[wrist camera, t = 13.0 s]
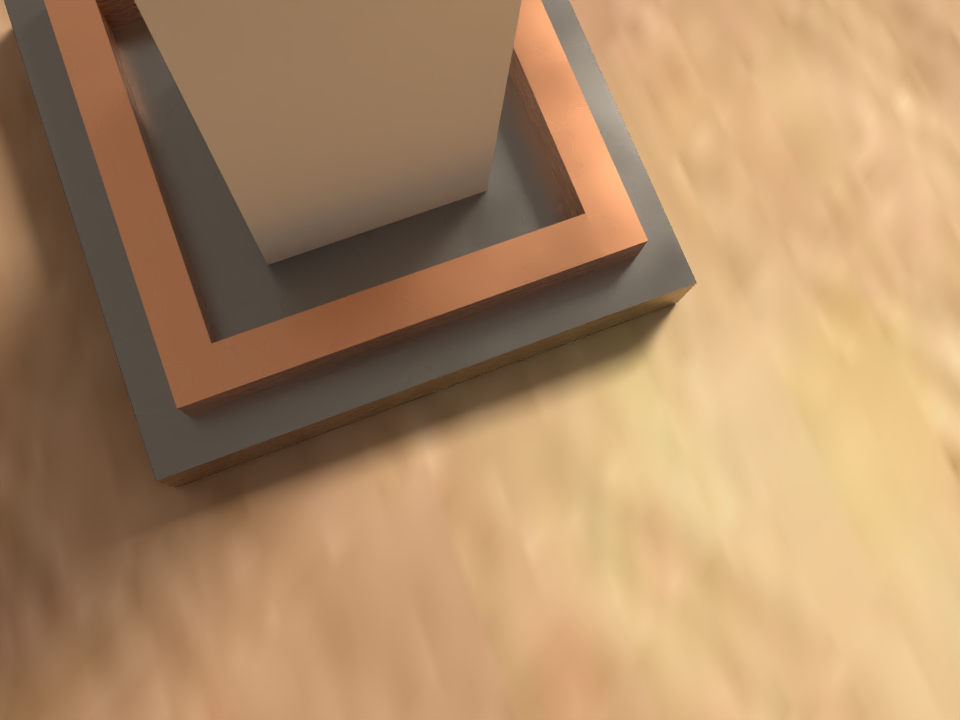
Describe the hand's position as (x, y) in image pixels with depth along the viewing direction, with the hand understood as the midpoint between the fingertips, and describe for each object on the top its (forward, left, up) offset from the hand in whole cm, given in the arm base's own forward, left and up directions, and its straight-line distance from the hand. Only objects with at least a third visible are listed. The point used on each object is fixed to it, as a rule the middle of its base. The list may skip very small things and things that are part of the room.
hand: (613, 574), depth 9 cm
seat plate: (+8, +6, -11) cm, 15 cm away
